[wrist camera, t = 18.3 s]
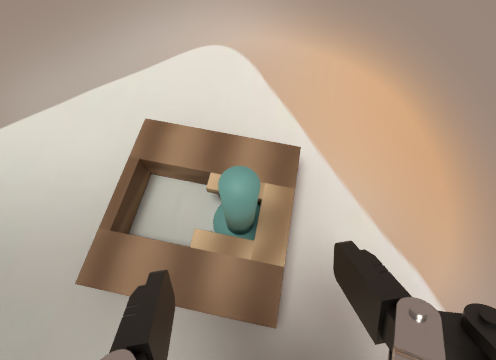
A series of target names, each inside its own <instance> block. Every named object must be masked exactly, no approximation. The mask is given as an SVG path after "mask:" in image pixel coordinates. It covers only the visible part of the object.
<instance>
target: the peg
mask: <svg viewBox="0 0 496 360" xmlns="http://www.w3.org/2000/svg"><path fill="white" fill-rule="evenodd" d="M218 189H219V194H220V198H221V203H222V204H221V205H220V206H219V207H218V209H217V211H216V213H215V216H214V222H213V224H214V230H215V233H219V234H224V235H229V236H234V237H239V238H244V239H248V240H253V241H254V239H255V234H256V228H257V223H258V218H259V212H260V205H259V204H257V202H258V197H259V192H260V180H259V177H258V175H257V174H256V173H255V172H254V171H253V170H252V169H250V168H248V167H245V166H233V167H230V168H228V169H227V170H225V171H224V172H223V173H222V175H221V176H220V178H219V182H218Z"/></svg>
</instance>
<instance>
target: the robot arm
mask: <svg viewBox="0 0 496 360" xmlns="http://www.w3.org/2000/svg"><path fill="white" fill-rule="evenodd" d="M333 269H334V275H335V278H336V280H337V282H338V284H339V285H340V287H341V289H342V290H343V292H344V294H345V295H346V297H347V299H348V300H349V302H350V304H351V305H352V307H353V309H354V310H355V312H356V313H357V315H358V317H359V318H360V320H361V322H362V323H363V325H364V327H365V328H366V330H367V332H368V333H369V335H370V337H371V338H372V340H373V342H374V343H375V345H376V344H381V343H386V345H387V346H388V348H389V353H388V360H496V309H495V308H492V307H490V306H487V305H483V304H469V305H467V306H466V307H465V308H464V311H463V314H462V313H452V312H443V311H437V310H436V309H435V308H434V307H433V306H432V305H430V304H429V303H427V302H426V301H423V300H421V299H418V298H414V297H412V296H411V295H410V294H409V293H408V292H407V291H406V290H405V289H404V287H403V286H402V285H401V284H400V283H399V282H398V281H397V280H396V279H395V277H394V276H393V275H392V274H391V273H390V272H388V270H387V269H386V268H385V266H384V265H382V263H381V262H380V261H379V260H378V259H377V258H376V256H374V255H373V254H371V253H369V252H368V251H366V250H359V248H358V247H357V246H356V245H355V244H354V243H353V242H352V241H345V242H339V243H335V246H334V266H333ZM126 307H127V308H126V309H125V312H124V314H123V317H122V320H121V323H120V325H119V328H118V331H117V333H116V336H115V339H114V342H113V344H112V347H111V350H110V352H109V354H107V355H106V356H105V357H103V358H102V359H101V360H167V356H168V350H169V344H170V337H171V331H172V324H173V318H174V312H175V295H174V291H173V287H172V284H171V280H170V276H169V272H168V270H161V271H154V272H150V273H149V275H148V279H147V282H146V285H141V286H138V287H137V288H136V289H135V291H134V292H133V293H132V294H131V296H130V298H129V301H128V303H127V306H126Z"/></svg>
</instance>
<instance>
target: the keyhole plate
mask: <svg viewBox="0 0 496 360" xmlns="http://www.w3.org/2000/svg"><path fill="white" fill-rule="evenodd" d="M300 149H301V147H297V146H292V145H286V144H281V143H276V142H270V141H265V140H259V139H254V138H248V137H243V136H238V135H232V134H227V133H221V132H216V131H210V130H205V129H200V128H194V127H189V126H183V125H178V124H173V123H167V122H162V121H156V120H151V119H145V121H144V123H143V125H142V128H141V130H140V132H139V135H138V137H137V140H136V142H135V144H134V147H133V149H132V151H131V154H130V156H129V158H128V161H127V163H126V165H125V168H124V170H123V172H122V175H121V177H120V179H119V182H118V184H117V187H116V189H115V191H114V194H113V196H112V198H111V201H110V203H109V205H108V208H107V210H106V212H105V215H104V217H103V219H102V222H101V224H100V226H99V229H98V231H97V233H96V236H95V238H94V241H93V243H92V245H91V248H90V250H89V252H88V255H87V257H86V259H85V262H84V264H83V266H82V269H81V271H80V273H79V276H78V278H77V280H76V283H75V284H78V285H82V286H87V287H91V288H96V289H100V290H105V291H109V292H114V293H118V294H123V295H127V296H131V294H132V293H133V292H134V291H135V289H136V288H137V287H138V286H141V285H146V282H147V279H148V275H149V273H150V272H154V271H161V270H168V272H169V276H170V280H171V284H172V287H173V291H174V295H175V306H177V307H181V308H186V309H190V310H195V311H199V312H204V313H208V314H213V315H217V316H222V317H226V318H231V319H235V320H240V321H244V322H249V323H253V324H258V325H262V326H267V327H271V328H276V324H277V317H278V309H279V302H280V295H281V287H282V280H283V273H284V266H285V258H286V251H287V244H288V236H289V229H290V222H291V215H292V207H293V200H294V193H295V185H296V178H297V171H298V163H299V156H300ZM233 166H245V167H248V168H250V169H252V170H253V171H254V172H255V173H256V174H257V175H258V177H259V180H260V192H259V197H258V202H261V207H260V212H259V218H258V223H257V228H256V234H255V239H254V241H253V240H248V239H244V238H239V237H234V236H229V235H224V234H219V233H214V232H209V231H205V230H200V229H195V230H194V234H193V237H192V241H191V245H190V247H187V246H182V245H177V244H172V243H167V242H163V241H158V240H153V239H148V238H144V237H139V236H134V235H129V234H128V233H129V230H130V228H131V225H132V222H133V220H134V217H135V214H136V212H137V209H138V206H139V204H140V201H141V199H142V196H143V193H144V191H145V188H146V185H147V183H148V180H149V177H150V175H151V174H155V175H160V176H165V177H170V178H175V179H180V180H185V181H191V182H196V183H201V184H206V185H207V187H206V189H207V192H211V193H216V194H219V189H218V182H219V178H220V176H221V175H222V173H223V172H224V171H225V170H227V169H228V168H230V167H233Z"/></svg>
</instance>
